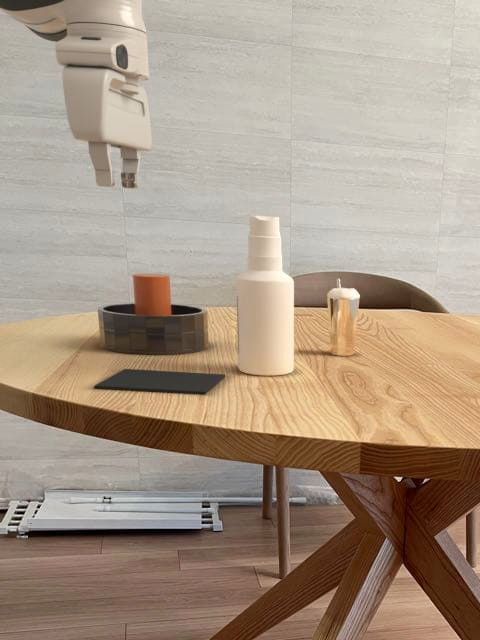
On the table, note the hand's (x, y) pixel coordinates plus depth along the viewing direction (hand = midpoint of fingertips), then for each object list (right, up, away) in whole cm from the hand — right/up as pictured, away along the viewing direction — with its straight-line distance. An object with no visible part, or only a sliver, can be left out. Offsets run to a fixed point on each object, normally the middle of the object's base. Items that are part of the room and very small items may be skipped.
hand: (118, 187), depth 102 cm
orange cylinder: (0, -16, +14) cm, 21 cm away
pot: (0, -16, +14) cm, 21 cm away
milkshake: (+26, -17, +16) cm, 35 cm away
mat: (+8, -26, -8) cm, 28 cm away
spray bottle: (+18, -23, +1) cm, 29 cm away
